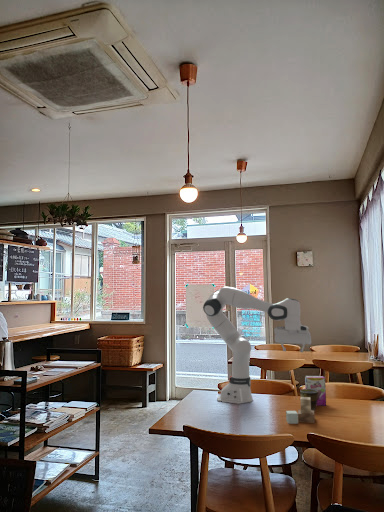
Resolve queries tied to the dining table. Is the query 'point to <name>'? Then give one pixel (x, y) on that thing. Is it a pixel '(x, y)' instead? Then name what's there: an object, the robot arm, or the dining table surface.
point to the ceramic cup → (312, 394)
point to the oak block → (305, 405)
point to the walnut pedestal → (306, 417)
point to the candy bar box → (317, 388)
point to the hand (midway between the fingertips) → (293, 351)
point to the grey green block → (292, 417)
